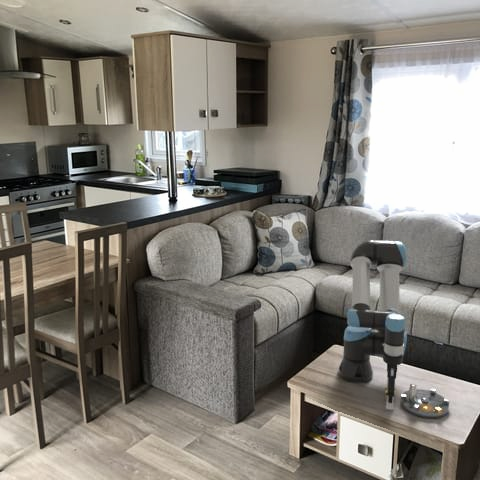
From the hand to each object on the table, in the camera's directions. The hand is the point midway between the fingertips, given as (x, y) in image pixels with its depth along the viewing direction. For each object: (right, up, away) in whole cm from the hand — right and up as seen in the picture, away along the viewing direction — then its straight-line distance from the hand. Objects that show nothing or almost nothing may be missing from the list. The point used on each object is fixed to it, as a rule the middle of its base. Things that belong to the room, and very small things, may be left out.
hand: (389, 400), depth 207 cm
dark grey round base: (+13, -1, -4) cm, 13 cm away
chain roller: (0, 0, 0) cm, 0 cm away
